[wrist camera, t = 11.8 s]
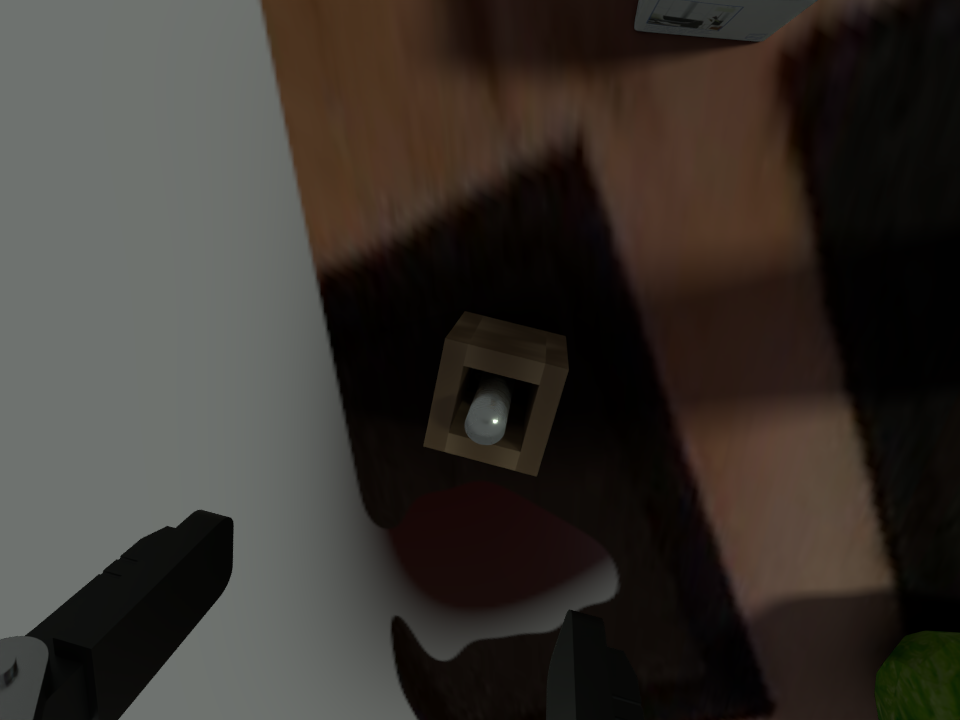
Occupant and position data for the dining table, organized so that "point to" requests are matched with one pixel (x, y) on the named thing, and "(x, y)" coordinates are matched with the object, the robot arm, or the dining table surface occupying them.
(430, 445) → the collar
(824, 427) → the dining table surface
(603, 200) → the dining table surface
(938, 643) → the lettuce
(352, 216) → the dining table surface
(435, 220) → the dining table surface
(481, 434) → the post
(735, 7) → the light bulb box
